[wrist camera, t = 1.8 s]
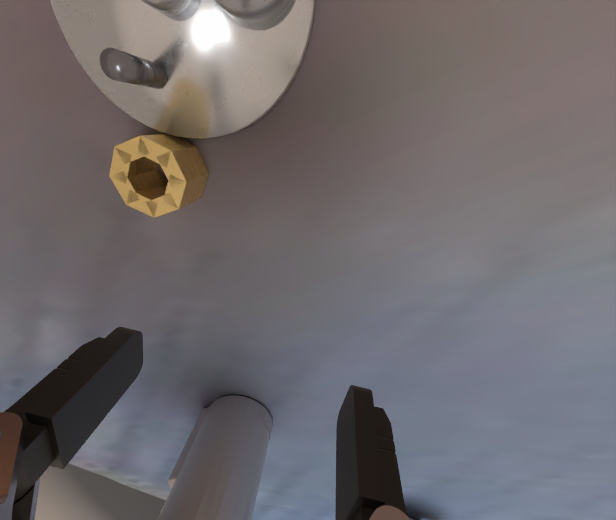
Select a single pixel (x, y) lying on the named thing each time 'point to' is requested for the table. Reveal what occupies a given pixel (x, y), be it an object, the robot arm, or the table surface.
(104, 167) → the table surface
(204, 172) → the planet gear
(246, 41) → the carrier
